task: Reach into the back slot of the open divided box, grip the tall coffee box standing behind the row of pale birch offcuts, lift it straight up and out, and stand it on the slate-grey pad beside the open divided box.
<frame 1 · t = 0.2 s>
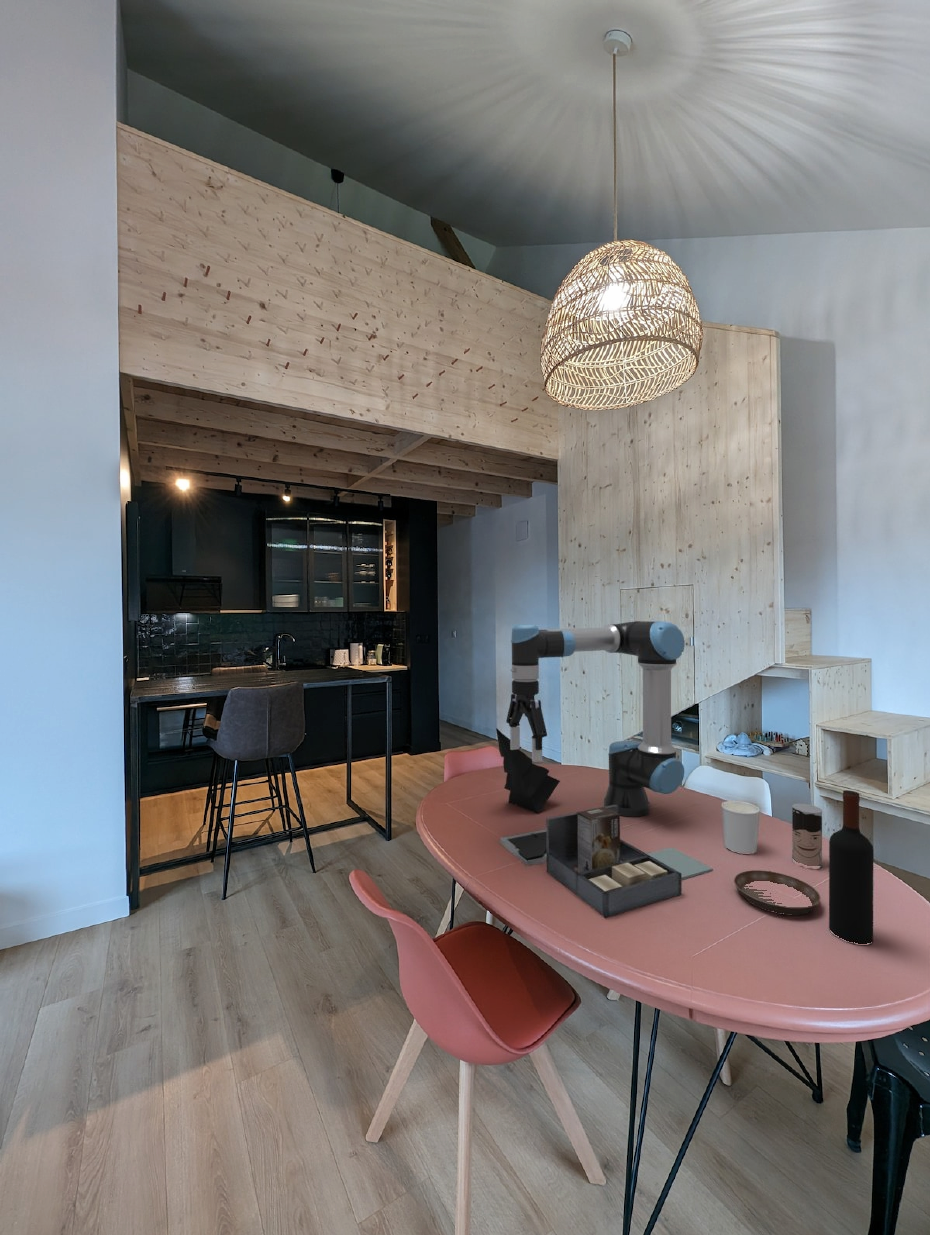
hand: (525, 755, 151), 28 cm above the table, tool pointing down, fingers open, 13 cm apart
wine bottle: (850, 935, 113), on the table
picture frame: (544, 850, 156), on the table
decorative tree: (522, 809, 186), on the table
cup: (806, 864, 144), on the table
offcut 1: (605, 901, 127), resting in open divided box
candle holder: (740, 849, 154), on the table
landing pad: (672, 864, 144), on the table
plant saucer: (775, 900, 127), on the table
offcut 2: (650, 888, 132), resting in open divided box
coffee box: (599, 874, 139), resting in open divided box
open divided box: (610, 881, 135), on the table
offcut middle: (628, 894, 129), resting in open divided box
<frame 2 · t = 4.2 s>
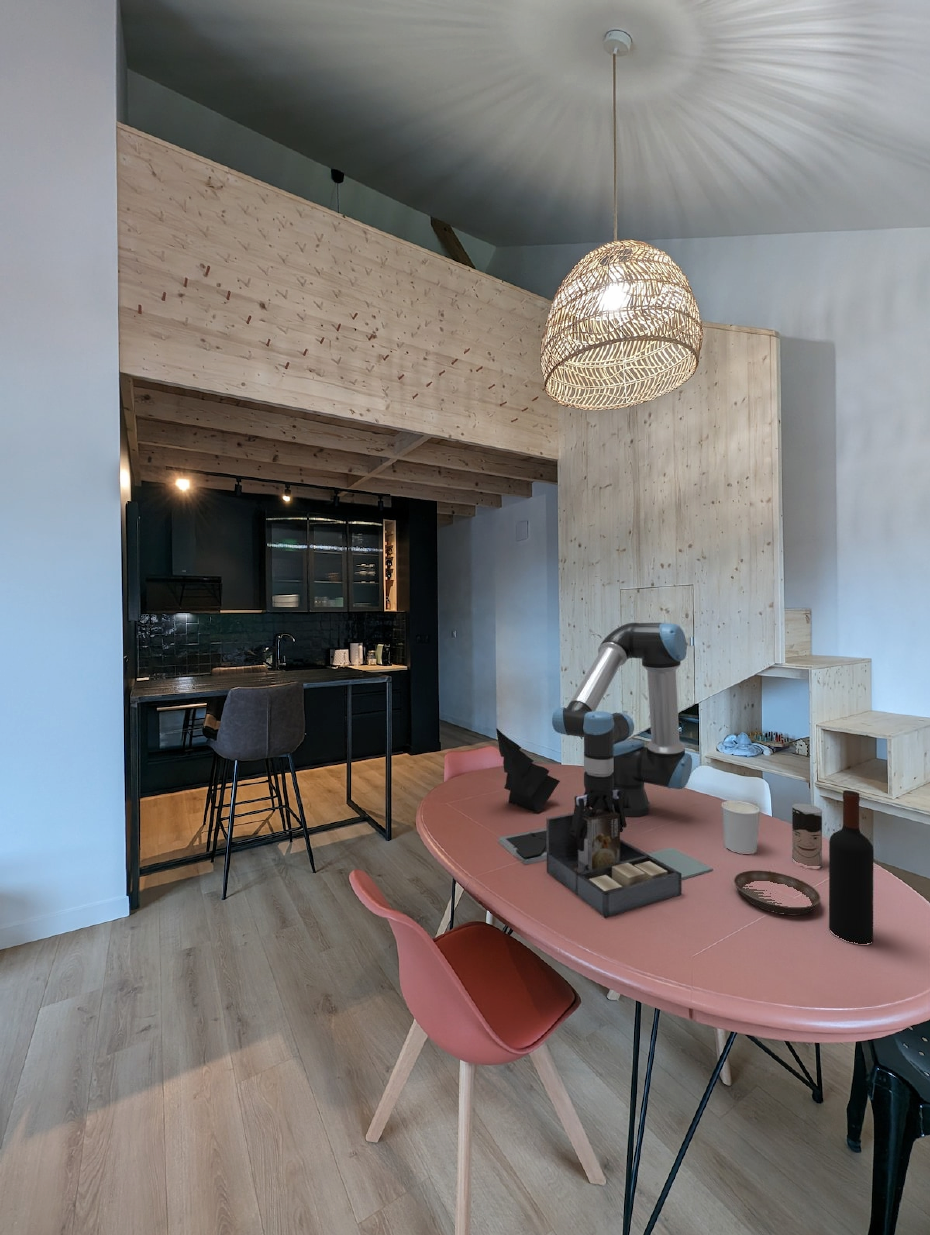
hand: (598, 858, 139), 4 cm above the table, tool pointing down, fingers closed on coffee box, 9 cm apart
coffee box: (598, 874, 139), resting in open divided box, touching gripper
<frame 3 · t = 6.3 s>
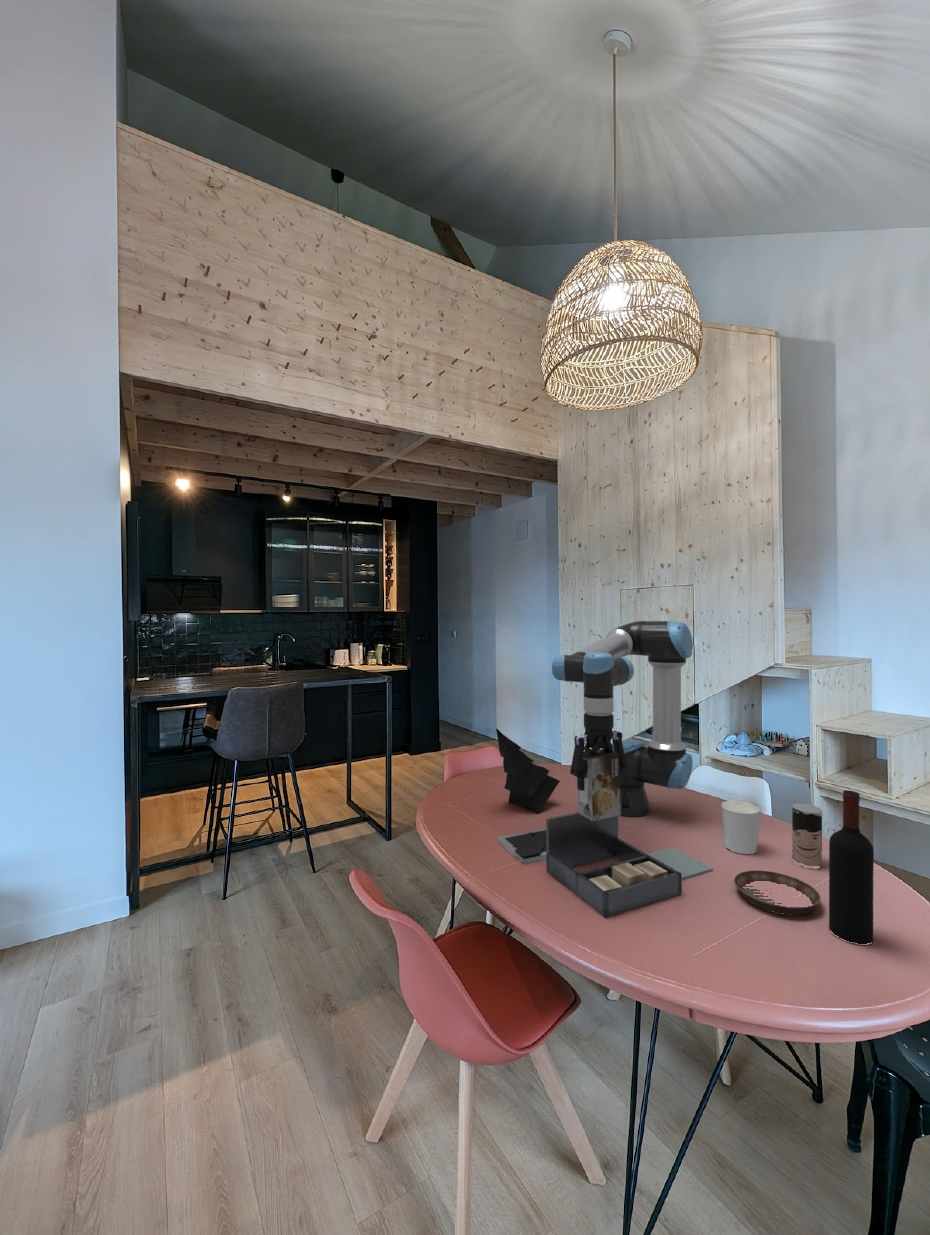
hand: (599, 799, 139), 19 cm above the table, tool pointing down, fingers closed on coffee box, 9 cm apart
coffee box: (599, 815, 139), point 15 cm above the table, touching gripper
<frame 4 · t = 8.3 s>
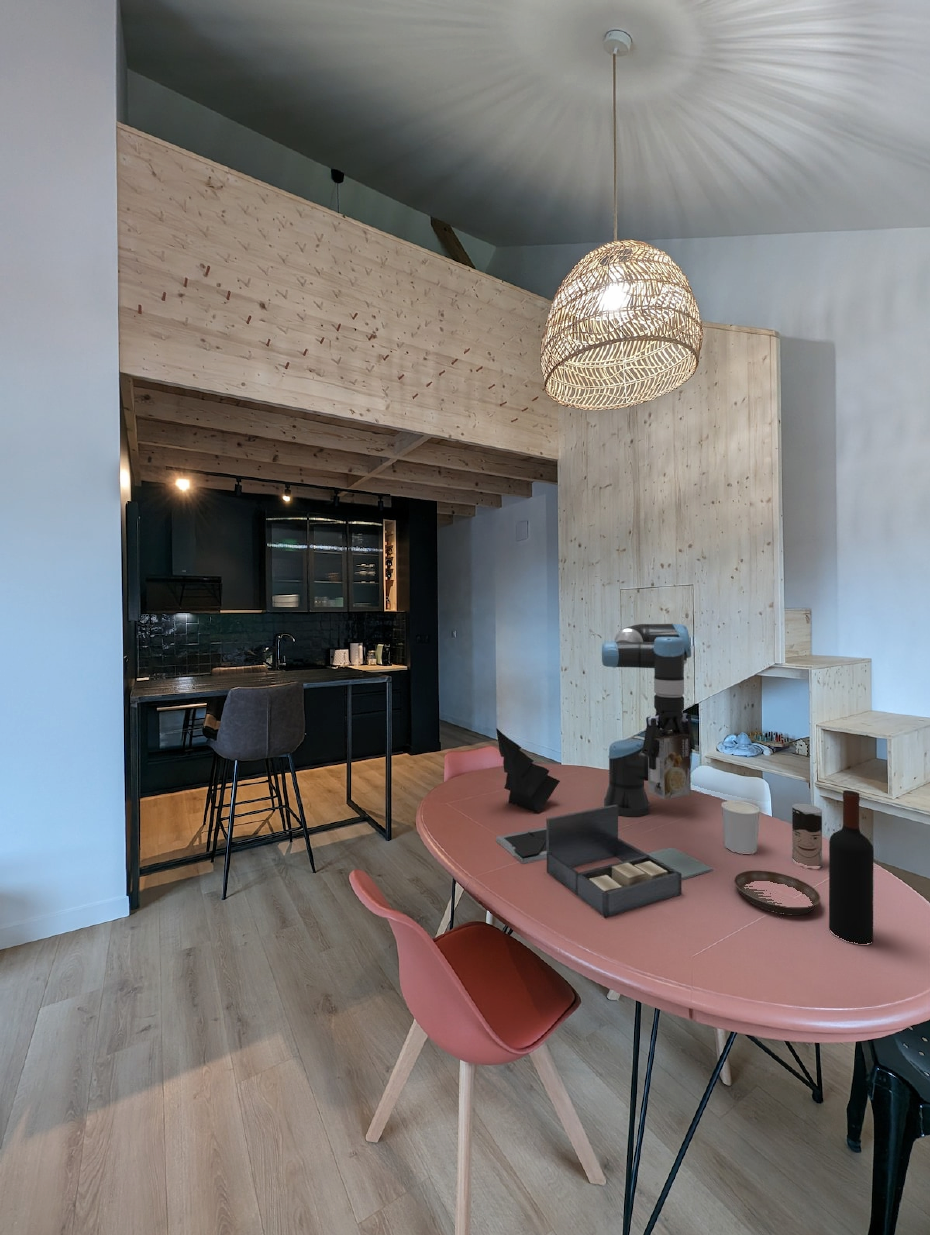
hand: (669, 778, 144), 23 cm above the table, tool pointing down, fingers closed on coffee box, 9 cm apart
coffee box: (669, 794, 144), point 19 cm above the table, touching gripper
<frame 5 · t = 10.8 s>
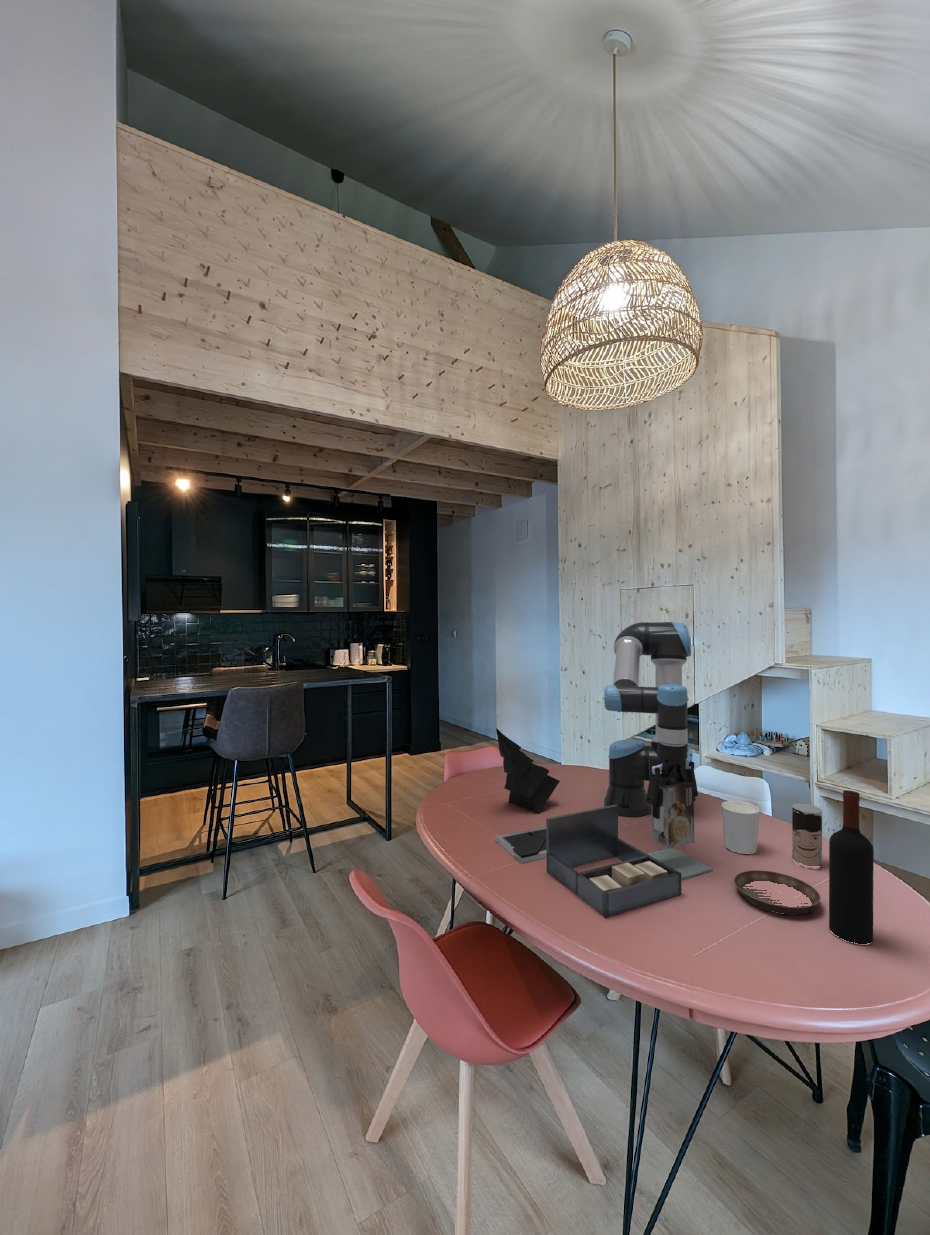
hand: (672, 826, 144), 10 cm above the table, tool pointing down, fingers closed on coffee box, 9 cm apart
coffee box: (672, 842, 144), point 6 cm above the table, touching gripper
when the fingers open (6 cm above the table, at t = 12.7 s): coffee box drops 1 cm, resting on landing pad.
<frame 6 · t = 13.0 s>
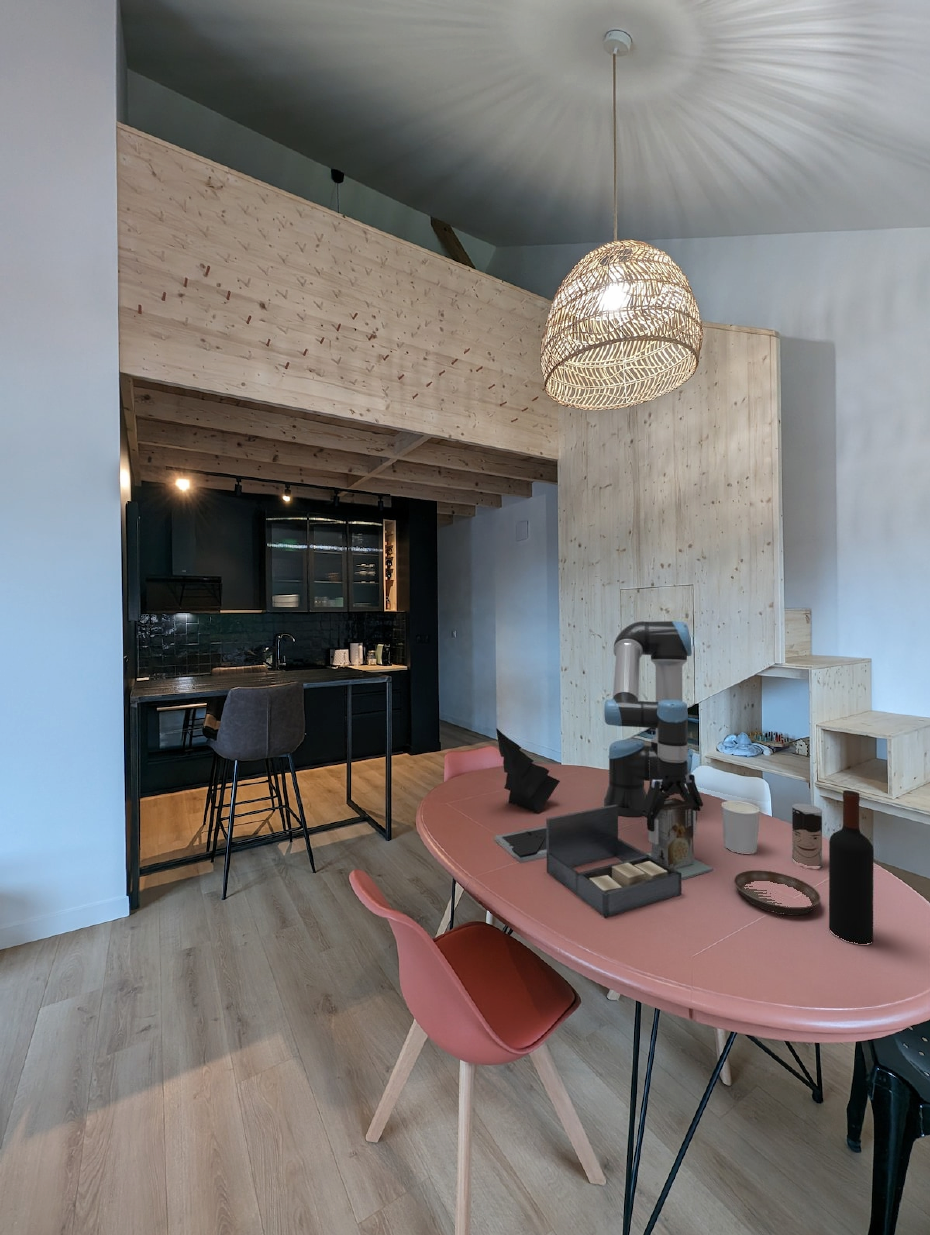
hand: (672, 838, 144), 7 cm above the table, tool pointing down, fingers open, 13 cm apart
coffee box: (672, 863, 144), resting on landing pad
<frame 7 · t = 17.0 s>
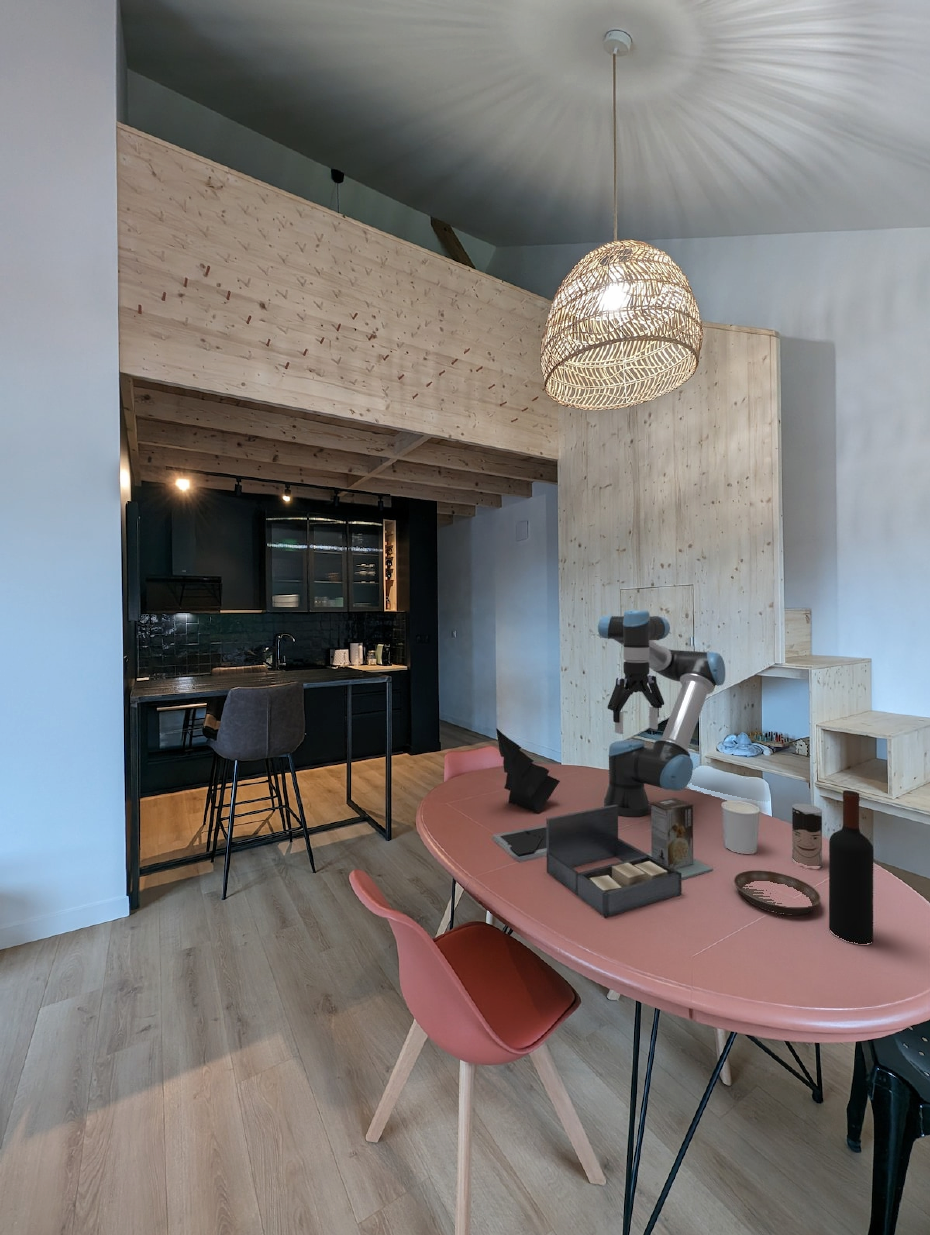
hand: (636, 731, 163), 32 cm above the table, tool pointing down, fingers open, 13 cm apart
at the end: coffee box inside the target area (0.2 cm from its centre), resting on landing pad; coffee box tilted 0°; the gripper is holding nothing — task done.
